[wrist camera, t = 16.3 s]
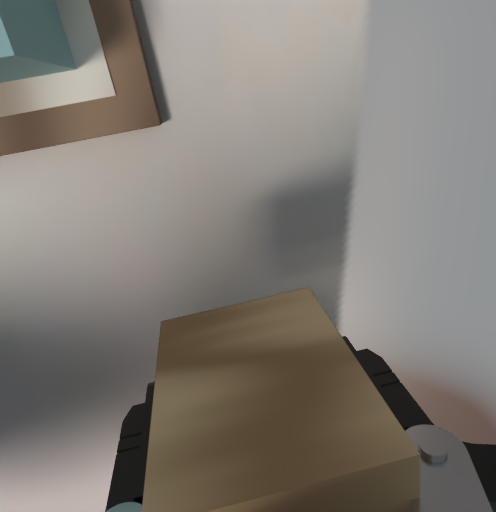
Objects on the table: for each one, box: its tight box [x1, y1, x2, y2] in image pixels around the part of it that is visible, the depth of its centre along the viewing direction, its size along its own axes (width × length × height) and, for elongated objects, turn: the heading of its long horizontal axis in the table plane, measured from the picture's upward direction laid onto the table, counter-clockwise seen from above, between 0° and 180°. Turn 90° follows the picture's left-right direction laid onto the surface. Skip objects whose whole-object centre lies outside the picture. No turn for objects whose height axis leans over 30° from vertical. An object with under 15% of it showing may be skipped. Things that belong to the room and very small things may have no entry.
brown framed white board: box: [0, 0, 162, 156], centre depth 15 cm, size 10×10×1 cm
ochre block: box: [142, 288, 420, 512], centre depth 10 cm, size 4×4×6 cm
